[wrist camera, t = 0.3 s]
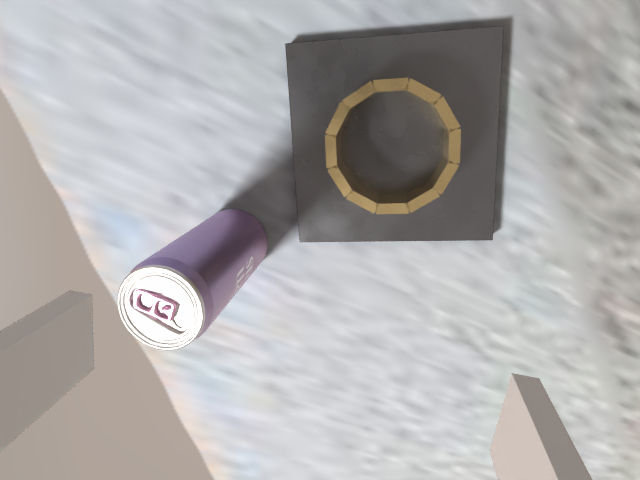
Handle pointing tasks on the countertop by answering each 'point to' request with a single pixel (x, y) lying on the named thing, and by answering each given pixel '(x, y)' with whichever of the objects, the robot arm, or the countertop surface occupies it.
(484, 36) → the pipe socket
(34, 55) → the countertop surface
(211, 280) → the beverage can
